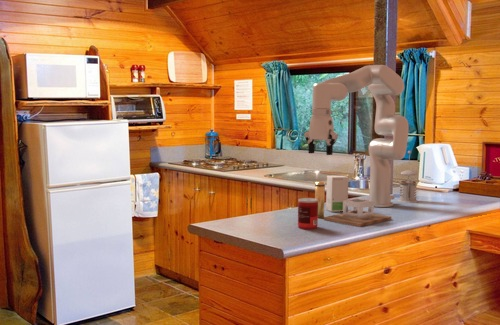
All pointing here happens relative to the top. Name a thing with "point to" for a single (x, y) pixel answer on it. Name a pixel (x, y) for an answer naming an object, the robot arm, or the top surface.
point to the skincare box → (336, 192)
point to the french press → (408, 187)
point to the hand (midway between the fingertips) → (320, 154)
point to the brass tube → (320, 197)
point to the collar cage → (358, 208)
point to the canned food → (307, 213)
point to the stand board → (356, 222)
